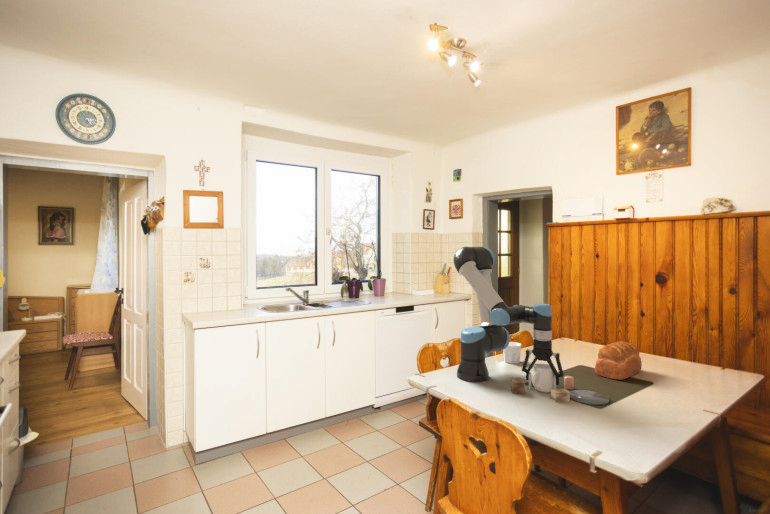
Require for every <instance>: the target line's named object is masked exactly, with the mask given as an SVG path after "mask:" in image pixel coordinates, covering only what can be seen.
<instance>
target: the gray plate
mask: <svg viewBox="0 0 770 514" xmlns="http://www.w3.org/2000/svg"><path fill="white" fill-rule="evenodd" d="M569 392H570V400H573V402H574V401H575V402H577V403H580V404H585V405H590V406H604V405H607V404H609V403H610V398H609V397H608V396H607V395H605V394H604V393H600V392H597V391H593V390H587V389H586V390H585V389H573V390H569Z"/></svg>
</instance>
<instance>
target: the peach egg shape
mask: <svg viewBox="0 0 770 514" xmlns="http://www.w3.org/2000/svg"><path fill="white" fill-rule="evenodd" d="M563 389H566V390H567V391H572V390H575V377H574V376H571V375H563Z"/></svg>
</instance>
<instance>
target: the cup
mask: <svg viewBox="0 0 770 514" xmlns="http://www.w3.org/2000/svg"><path fill="white" fill-rule="evenodd" d="M521 351H522V343H521V342H516V341H510V342H509V345H508V346H507V348H506V349H504V350H502V356H503V357H502V358H503V361H504V363H507V364H516V365H517V364H520V363H521V362H520V361H521Z"/></svg>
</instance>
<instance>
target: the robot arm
mask: <svg viewBox="0 0 770 514" xmlns="http://www.w3.org/2000/svg"><path fill="white" fill-rule="evenodd" d="M495 261H496V257H495V253H494V251H493V250H491V248H489V247H487V246H486V247H484V246H464V247H460V248H459V249H457V250H456V251H455V254H454V256H453V266H454V268H455V270H456V271H457V273H458V274H459V275H460V276H461V277H462V276H463V277H464V278H465V280H466V281H467V282H468V284H469V286H470V287H471V288H472V289H473V290H474V292H475V293H476V300H477V306H478V309H479V311H478V312H479V316H480V322H481V323H480V324H479V325H478V326H470V327H467V328H464V329H462V330H461V332H460V337H459V340H460V361H459V365H458V367H457V370H456V377H457V378H458V379H461V380H462V381H466V382H474V383H476V382H485V381H487V380H489V378H490V374H489V370H488V366H487V363H486V354H491V353H498V352H500V351H503V350H504V349H506V348H507V346H508V345H509V342H511V341H510V340H511V337H510V332H509V331H508V330H507V328H505V327H504V326H507V325H515V324H522V323H525V324H531V325H532V326H533V328H532V329H533V342H532V343H533V348H532V349H528V348H527V349H526V350H525V357H524V360H523V364H522V368H521V372H524V373H525V380H526V381H527V382H528V390H531V388H532V372H530V371H531V370H532V368H533V367H534V366H535V364H536V362H537V361H541V362H547V364H548V365H549V366H550V367H551V369H552V371H553V373H554V375H555V376H554V389H557V386H559V385H560V378H564V376H565V375H564V374H565V373H564V370H563V367H562V362H561V359H560V356H561V355H560V353H559V352H557V353H556V352H553V349H552V348H553V341H552V339H553V330H552V329H553V328H552V327H553V326H552V325H553V324H552V323H553V311H552V309H553V307H552V305H551V304H548V303H541V302H540V303H539V302H538V303H534V304H533V306H529V305H522V304H514V305H512V306H508V305H507V304H506V302H505V301H504V300H503V299H502V297H500V295H499V294H498V292H497V291H496V290H495V289H494V287H493V283H492V277H491V274H492V271H493V267H494V265H495V263H496V262H495ZM531 354H533V356H534V358H533V360H532V362H531V363H530V364H529V366H528V362H529V359H530V355H531ZM551 357H553V358H554V359H555V361H556V365H557V368H556V366H555V365H554V363H553V361H552V358H551ZM527 366H528V368H527Z"/></svg>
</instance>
